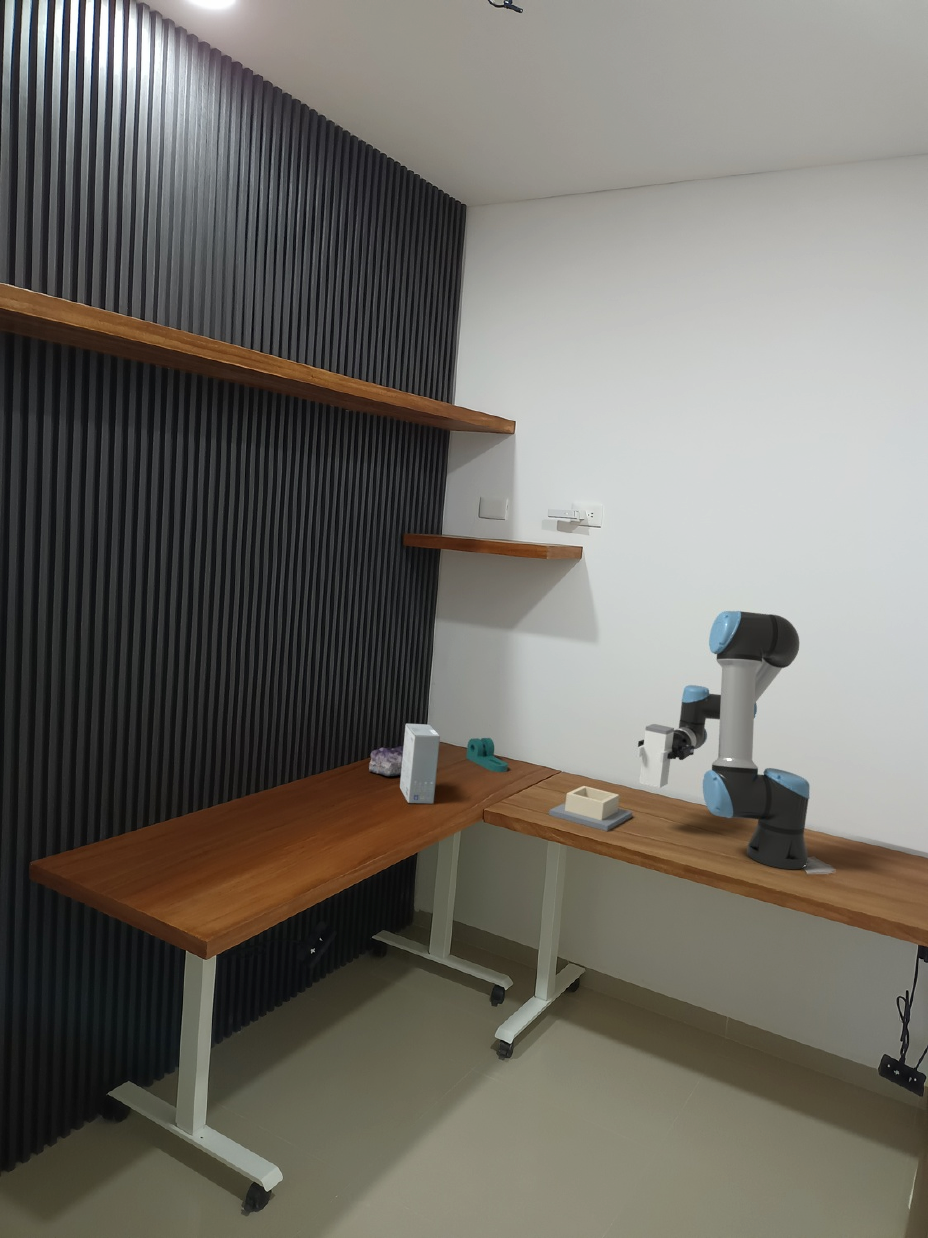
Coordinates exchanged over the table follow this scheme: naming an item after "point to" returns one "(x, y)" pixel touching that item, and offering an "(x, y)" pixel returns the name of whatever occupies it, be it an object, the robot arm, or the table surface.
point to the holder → (592, 808)
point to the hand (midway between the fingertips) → (650, 754)
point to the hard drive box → (419, 763)
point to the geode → (387, 761)
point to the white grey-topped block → (655, 755)
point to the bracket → (485, 754)
